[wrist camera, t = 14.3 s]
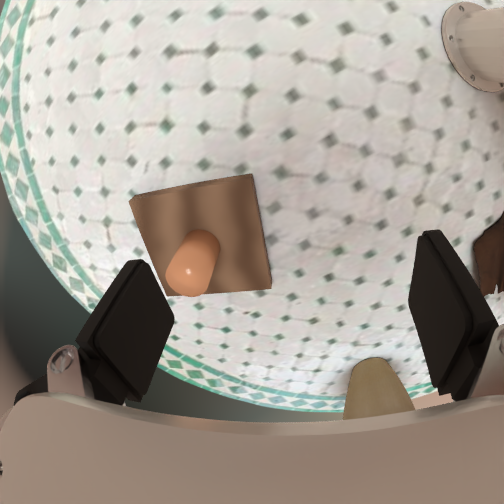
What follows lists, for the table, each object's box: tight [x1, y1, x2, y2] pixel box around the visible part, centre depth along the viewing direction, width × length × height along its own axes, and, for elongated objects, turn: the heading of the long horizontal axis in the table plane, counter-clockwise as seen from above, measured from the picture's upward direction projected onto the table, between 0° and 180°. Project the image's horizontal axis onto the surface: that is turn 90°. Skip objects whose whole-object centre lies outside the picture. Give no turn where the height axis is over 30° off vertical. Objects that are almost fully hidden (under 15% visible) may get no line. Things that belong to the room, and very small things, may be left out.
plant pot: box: [343, 358, 415, 420], centre depth 47 cm, size 15×15×16 cm
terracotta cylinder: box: [165, 229, 220, 297], centre depth 35 cm, size 5×5×7 cm
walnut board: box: [129, 174, 272, 296], centre depth 39 cm, size 16×16×2 cm
